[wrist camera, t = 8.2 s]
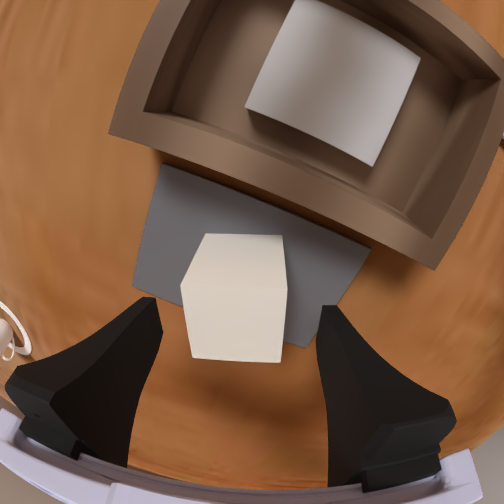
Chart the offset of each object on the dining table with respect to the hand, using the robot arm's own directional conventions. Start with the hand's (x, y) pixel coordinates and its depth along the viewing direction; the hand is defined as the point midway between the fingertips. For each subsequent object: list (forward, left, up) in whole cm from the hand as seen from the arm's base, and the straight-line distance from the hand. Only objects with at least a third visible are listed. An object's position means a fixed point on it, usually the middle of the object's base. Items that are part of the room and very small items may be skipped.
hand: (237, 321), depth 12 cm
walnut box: (0, -11, -5) cm, 12 cm away
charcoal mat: (0, 0, -5) cm, 5 cm away
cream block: (0, 0, -4) cm, 4 cm away
